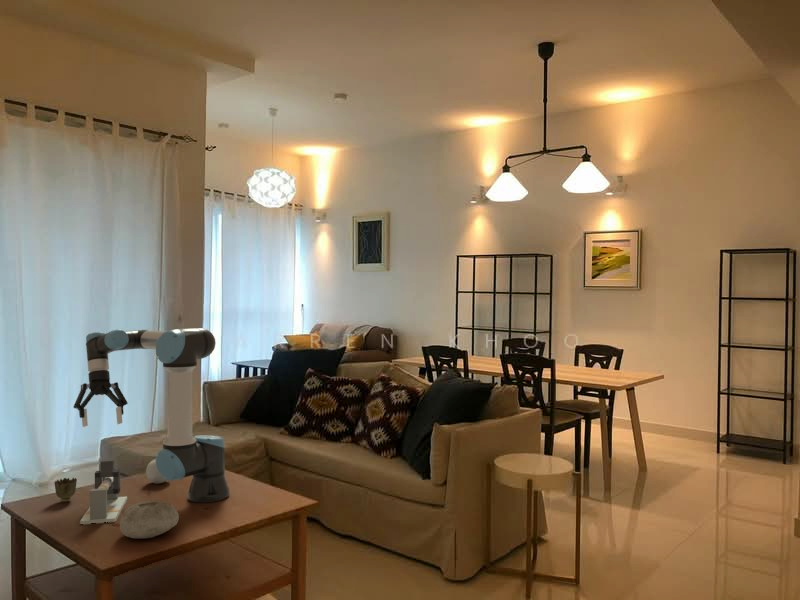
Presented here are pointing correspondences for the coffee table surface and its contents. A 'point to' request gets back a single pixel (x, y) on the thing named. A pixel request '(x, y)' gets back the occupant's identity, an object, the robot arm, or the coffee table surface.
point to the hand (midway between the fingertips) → (102, 424)
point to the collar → (108, 471)
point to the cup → (65, 489)
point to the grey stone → (148, 519)
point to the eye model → (154, 473)
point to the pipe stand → (103, 504)
